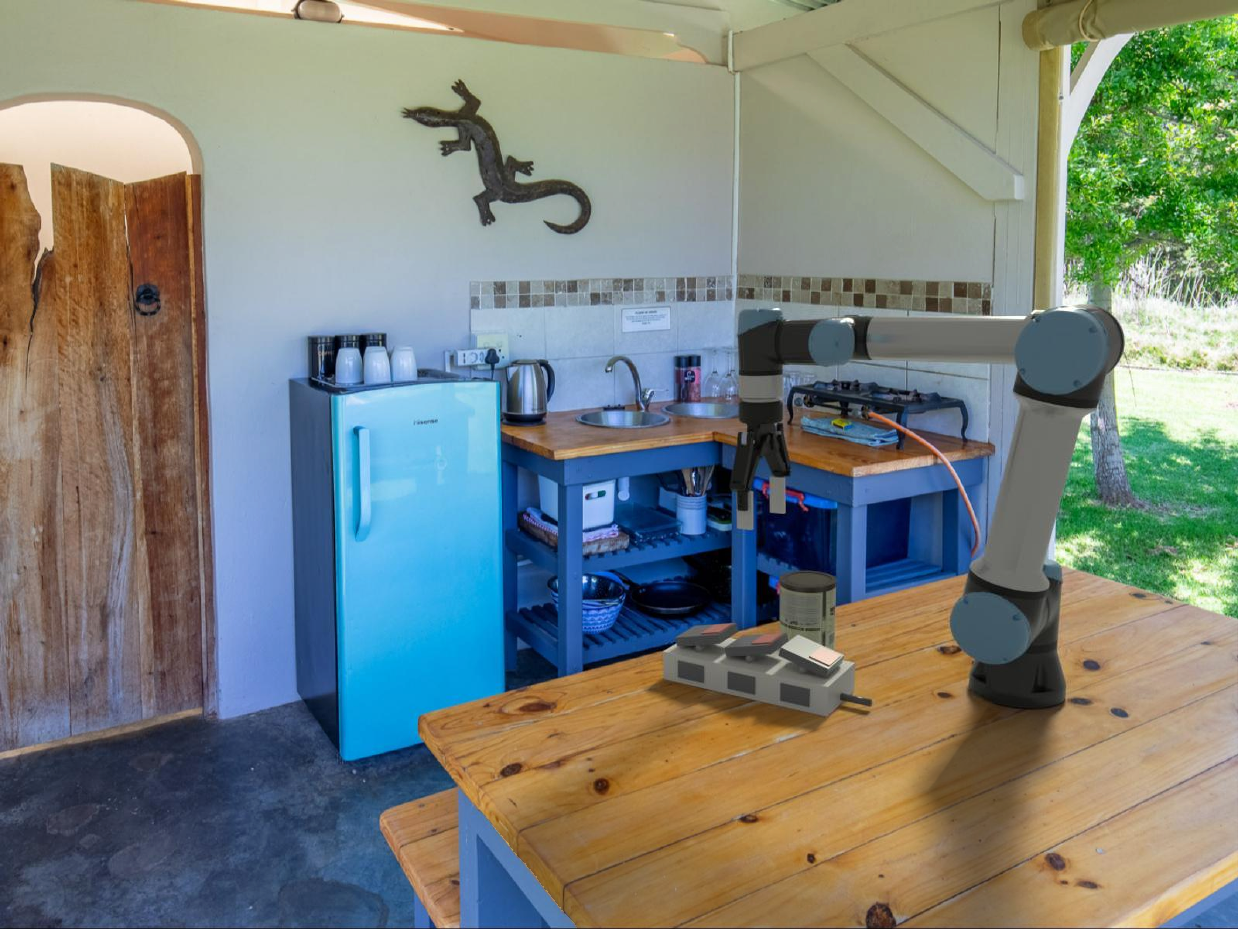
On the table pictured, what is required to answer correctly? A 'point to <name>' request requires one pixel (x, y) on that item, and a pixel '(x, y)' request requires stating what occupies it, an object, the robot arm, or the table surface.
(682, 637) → the rocker
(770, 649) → the rocker
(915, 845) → the table surface
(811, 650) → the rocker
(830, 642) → the coffee can
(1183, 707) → the table surface
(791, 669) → the power strip
